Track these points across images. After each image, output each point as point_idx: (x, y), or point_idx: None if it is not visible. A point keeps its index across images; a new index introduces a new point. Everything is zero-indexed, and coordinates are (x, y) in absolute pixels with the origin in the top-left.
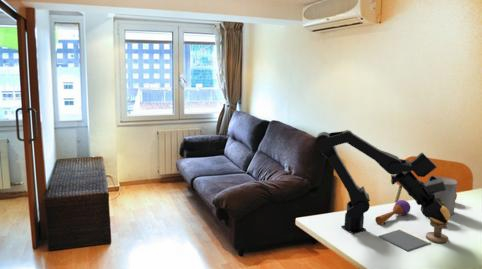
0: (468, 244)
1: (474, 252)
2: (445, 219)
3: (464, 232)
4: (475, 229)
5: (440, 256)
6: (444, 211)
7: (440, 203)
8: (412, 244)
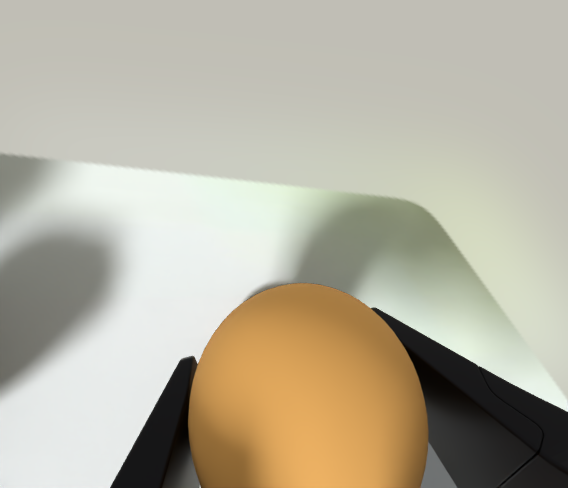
0: (264, 213)
1: (331, 199)
2: (399, 323)
3: (118, 218)
4: (52, 167)
5: (447, 322)
6: (401, 351)
7: None
8: (429, 468)
